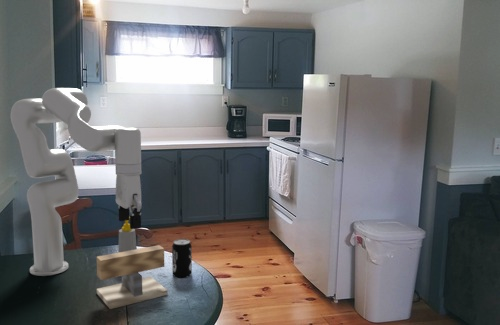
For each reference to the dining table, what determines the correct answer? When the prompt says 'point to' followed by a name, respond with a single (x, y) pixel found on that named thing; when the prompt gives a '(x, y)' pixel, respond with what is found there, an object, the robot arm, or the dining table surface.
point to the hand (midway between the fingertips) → (129, 224)
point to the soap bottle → (127, 238)
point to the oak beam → (130, 262)
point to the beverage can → (182, 258)
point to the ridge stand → (131, 291)
